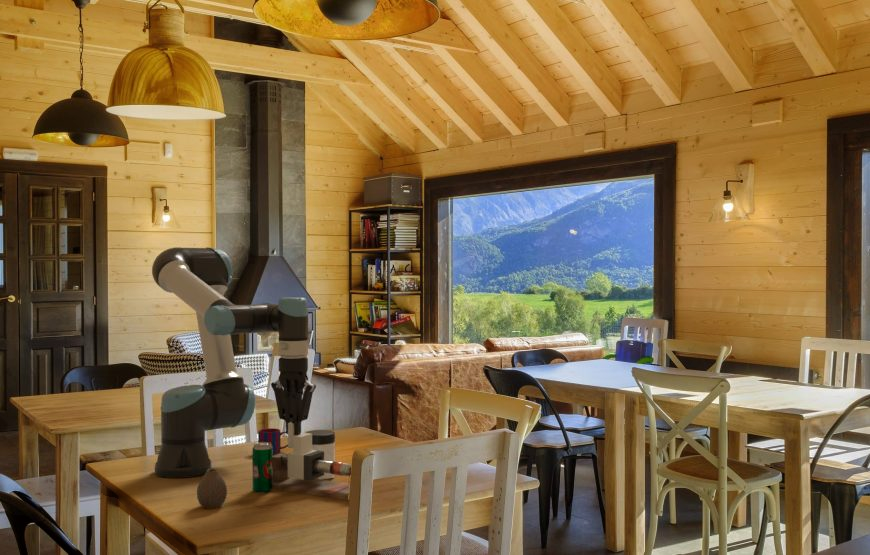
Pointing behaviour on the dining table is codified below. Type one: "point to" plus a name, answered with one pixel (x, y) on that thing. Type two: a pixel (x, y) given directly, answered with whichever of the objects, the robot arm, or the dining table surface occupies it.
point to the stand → (306, 483)
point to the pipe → (324, 466)
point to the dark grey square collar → (308, 465)
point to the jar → (324, 446)
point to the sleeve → (299, 455)
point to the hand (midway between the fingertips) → (293, 446)
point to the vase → (211, 490)
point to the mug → (271, 438)
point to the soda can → (262, 467)
